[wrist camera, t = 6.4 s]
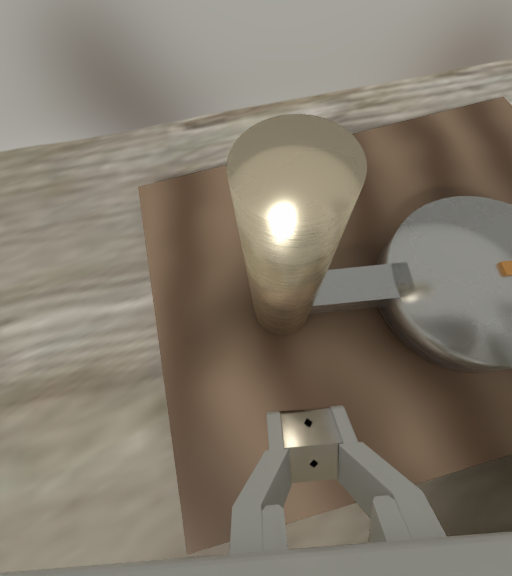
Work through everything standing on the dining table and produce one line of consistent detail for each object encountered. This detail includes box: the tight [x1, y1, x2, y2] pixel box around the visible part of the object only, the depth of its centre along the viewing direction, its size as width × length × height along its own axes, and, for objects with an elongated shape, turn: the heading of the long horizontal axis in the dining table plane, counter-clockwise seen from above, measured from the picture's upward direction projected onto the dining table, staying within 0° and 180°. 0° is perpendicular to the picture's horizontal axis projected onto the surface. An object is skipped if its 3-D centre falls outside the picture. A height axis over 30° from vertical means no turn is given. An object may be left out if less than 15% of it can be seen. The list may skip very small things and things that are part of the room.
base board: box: [138, 97, 512, 555], centre depth 20 cm, size 32×24×2 cm
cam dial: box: [227, 114, 512, 373], centre depth 13 cm, size 18×10×12 cm, turn 95°
